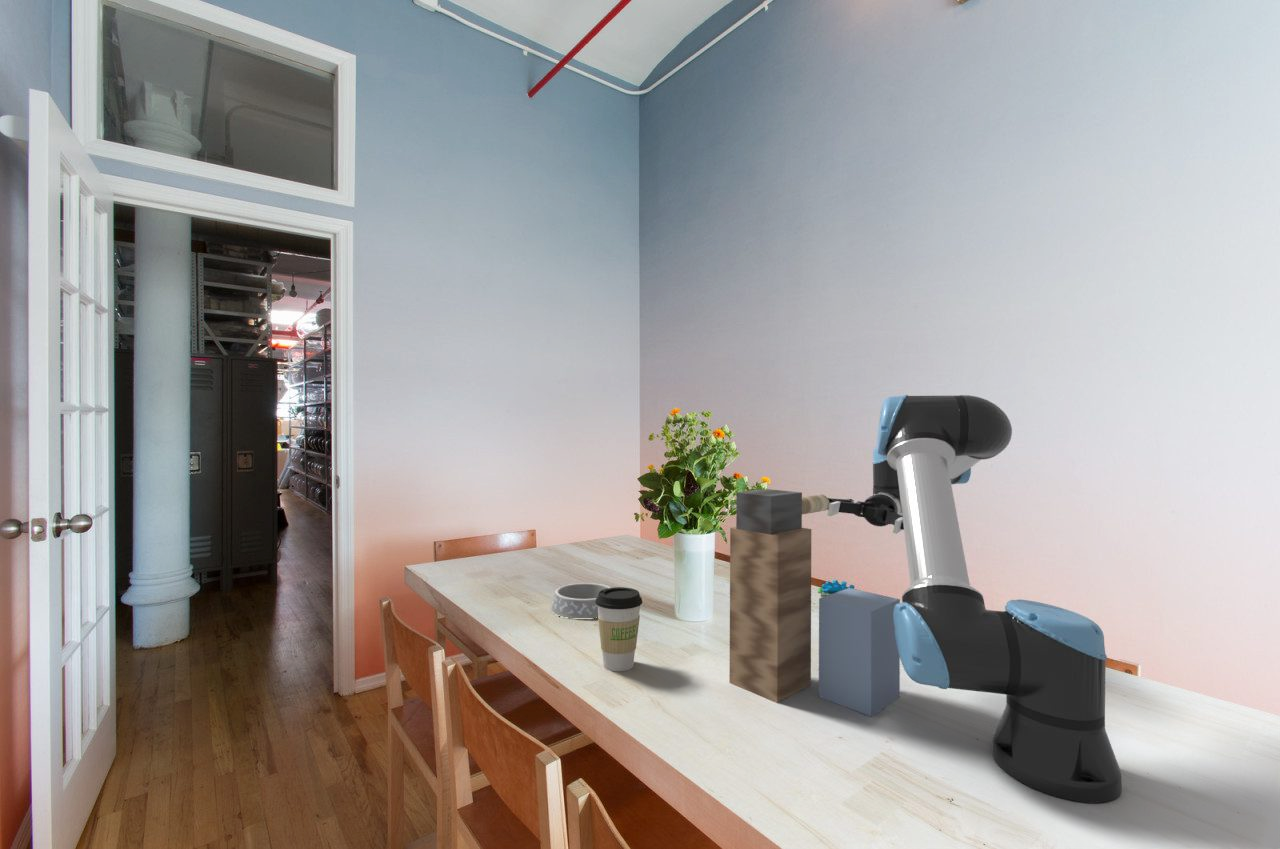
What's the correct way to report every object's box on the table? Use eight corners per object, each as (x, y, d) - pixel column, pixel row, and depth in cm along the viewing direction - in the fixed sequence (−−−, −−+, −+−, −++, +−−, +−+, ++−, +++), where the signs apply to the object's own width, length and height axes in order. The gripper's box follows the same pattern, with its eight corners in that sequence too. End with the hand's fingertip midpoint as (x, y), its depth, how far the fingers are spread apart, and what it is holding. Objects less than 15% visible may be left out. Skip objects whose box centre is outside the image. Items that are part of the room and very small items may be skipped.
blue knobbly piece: (863, 598, 163) (853, 578, 158) (861, 617, 159) (851, 597, 154) (824, 597, 170) (813, 577, 164) (822, 615, 166) (810, 596, 161)
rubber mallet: (839, 521, 121) (839, 488, 121) (771, 534, 105) (771, 496, 105) (805, 516, 127) (805, 485, 127) (736, 528, 111) (736, 492, 111)
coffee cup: (636, 677, 114) (637, 601, 114) (588, 672, 116) (589, 597, 116) (646, 657, 124) (646, 587, 124) (601, 654, 126) (602, 585, 126)
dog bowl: (630, 608, 159) (630, 589, 159) (581, 625, 145) (581, 604, 145) (587, 596, 170) (587, 578, 170) (538, 611, 156) (538, 591, 156)
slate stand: (899, 697, 106) (899, 599, 106) (870, 716, 99) (871, 611, 99) (848, 679, 114) (849, 587, 114) (818, 696, 106) (819, 598, 107)
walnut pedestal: (810, 685, 111) (811, 529, 111) (777, 702, 104) (777, 535, 104) (763, 667, 119) (764, 522, 119) (729, 682, 112) (730, 527, 112)
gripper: (934, 539, 134) (922, 552, 116) (827, 511, 147) (801, 519, 130) (941, 507, 133) (929, 516, 116) (832, 482, 147) (808, 486, 129)
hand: (862, 518), depth 123 cm, fingers open, 13 cm apart
